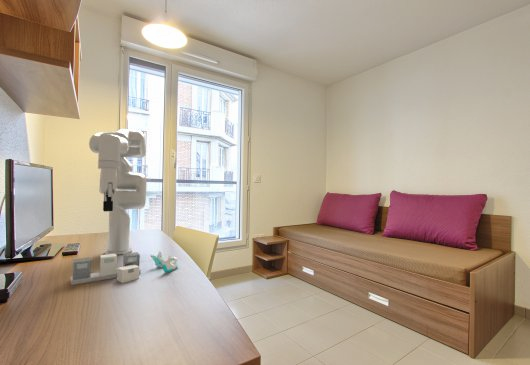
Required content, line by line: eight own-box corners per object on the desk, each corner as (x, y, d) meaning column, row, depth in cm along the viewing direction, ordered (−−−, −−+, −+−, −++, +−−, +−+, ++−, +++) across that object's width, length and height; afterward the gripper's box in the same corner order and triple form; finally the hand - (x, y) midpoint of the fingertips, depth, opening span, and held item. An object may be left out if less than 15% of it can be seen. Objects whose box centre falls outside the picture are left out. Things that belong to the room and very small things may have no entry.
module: (99, 272, 99) (100, 255, 99) (114, 270, 102) (115, 253, 102) (100, 275, 95) (101, 257, 95) (116, 273, 98) (117, 256, 98)
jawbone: (185, 268, 110) (178, 249, 107) (168, 279, 105) (160, 259, 102) (172, 261, 118) (165, 243, 116) (156, 271, 113) (148, 253, 111)
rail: (70, 280, 94) (71, 259, 94) (137, 270, 107) (138, 251, 107) (70, 285, 90) (71, 262, 90) (140, 273, 103) (141, 254, 103)
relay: (117, 280, 96) (117, 267, 96) (133, 276, 100) (134, 264, 100) (122, 282, 93) (122, 270, 93) (138, 278, 98) (139, 266, 98)
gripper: (96, 165, 109) (95, 209, 109) (100, 164, 97) (98, 214, 97) (116, 166, 113) (115, 208, 114) (122, 166, 101) (121, 213, 102)
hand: (107, 210), depth 106 cm, fingers closed
